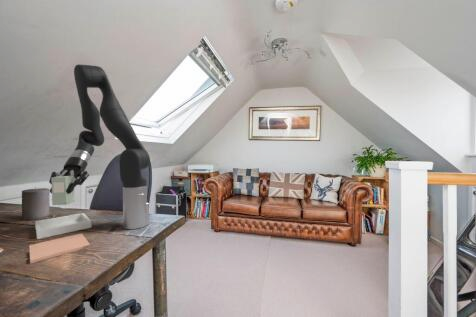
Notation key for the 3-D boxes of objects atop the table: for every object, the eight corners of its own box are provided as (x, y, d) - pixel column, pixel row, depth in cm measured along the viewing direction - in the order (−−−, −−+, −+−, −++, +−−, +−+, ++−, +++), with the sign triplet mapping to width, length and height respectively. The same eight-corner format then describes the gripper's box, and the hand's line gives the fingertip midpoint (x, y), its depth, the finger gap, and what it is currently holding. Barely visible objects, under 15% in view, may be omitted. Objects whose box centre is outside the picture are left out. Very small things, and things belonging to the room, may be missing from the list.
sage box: (61, 202, 85) (60, 176, 85) (74, 201, 86) (73, 175, 86) (52, 205, 80) (51, 177, 80) (66, 204, 81) (65, 177, 81)
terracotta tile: (81, 235, 77) (81, 233, 77) (90, 246, 68) (90, 244, 68) (29, 247, 67) (29, 245, 67) (30, 263, 58) (30, 260, 58)
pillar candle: (15, 221, 93) (15, 189, 93) (32, 215, 103) (32, 185, 102) (40, 220, 95) (40, 188, 95) (54, 214, 105) (54, 185, 104)
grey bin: (83, 220, 95) (83, 212, 95) (91, 229, 84) (91, 220, 84) (35, 229, 83) (35, 221, 83) (37, 241, 72) (36, 231, 72)
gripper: (56, 156, 89) (33, 188, 78) (91, 155, 91) (75, 186, 80) (65, 167, 95) (45, 198, 83) (98, 166, 97) (83, 197, 85)
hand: (60, 192), depth 81 cm, fingers closed on sage box, 5 cm apart
